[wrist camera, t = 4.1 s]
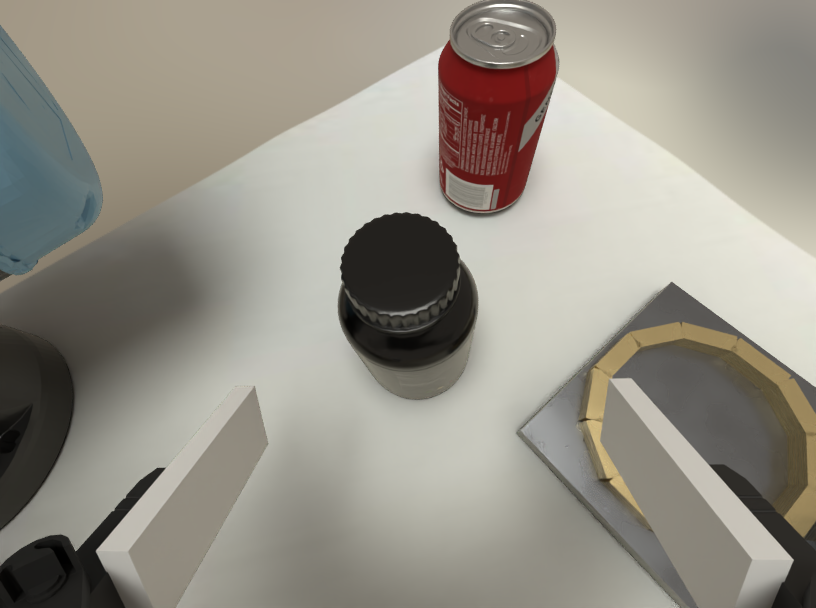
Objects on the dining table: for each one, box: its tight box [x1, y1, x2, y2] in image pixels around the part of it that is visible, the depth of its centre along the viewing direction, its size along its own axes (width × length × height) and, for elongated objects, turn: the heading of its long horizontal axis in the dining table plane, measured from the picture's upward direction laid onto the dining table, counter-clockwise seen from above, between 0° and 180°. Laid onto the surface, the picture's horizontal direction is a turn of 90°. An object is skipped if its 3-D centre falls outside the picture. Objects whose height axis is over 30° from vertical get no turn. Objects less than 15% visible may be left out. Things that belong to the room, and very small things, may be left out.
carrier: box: [517, 282, 816, 608], centre depth 19 cm, size 20×14×5 cm
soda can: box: [438, 0, 559, 213], centre depth 26 cm, size 7×7×12 cm
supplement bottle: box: [338, 212, 478, 399], centre depth 21 cm, size 7×7×12 cm
